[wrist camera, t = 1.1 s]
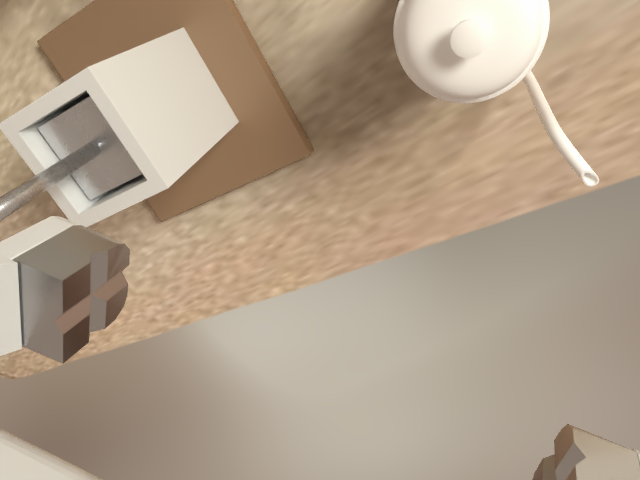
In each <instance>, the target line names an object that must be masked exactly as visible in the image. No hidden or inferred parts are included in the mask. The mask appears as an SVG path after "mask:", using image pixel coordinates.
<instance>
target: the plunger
mask: <svg viewBox="0 0 640 480" xmlns="http://www.w3.org/2000/svg"><path fill="white" fill-rule="evenodd" d="M38 129H39V131H40V132H41V134H42V135H43V136H44V138H45V139H46V140H47V142H48V143H49V145H50V146H51V147H52V149H53V150H54V151H55V153H56V154H57V156H58V157H59V158H60V161H58V162H56V163H55V164H53V165H51V166H50V167H48V168H47V169H45V170H43V171H42V172H40V173H39V174H37V175H35V176H34V177H32V178H30V179H29V180H27V181H26V182H24V183H22V184H21V185H19V186H17V187H16V188H14V189H13V190H11V191H9V192H8V193H6V194H4V195H3V196H1V197H0V221H1V220H3V219H4V218H6V217H7V216H9V215H10V214H12V213H13V212H15V211H16V210H18V209H19V208H21V207H22V206H24V205H25V204H27V203H28V202H30V201H31V200H33V199H34V198H36V197H37V196H39V195H40V194H42V193H43V192H45V191H46V190H48V189H49V188H51V187H52V186H54V185H55V184H57V183H58V182H60V181H61V180H63V179H64V178H66V177H67V176H69V175H70V174H71V175H72V176H73V177H74V179H75V180H76V182H77V183H78V184H79V186H80V187H81V188H82V190H83V191H84V193H85V194H86V195H87V197H88V198H89V199H90V200H92V199H94V198H96V197H98V196H100V195H102V194H103V193H105V192H107V191H109V190H111V189H113V188H115V187H117V186H119V185H121V184H123V183H125V182H127V181H129V180H131V179H133V178H135V177H137V176H139V175H141V174H143V173H142V172H141V170H140V169H139V167H138V166H137V164H136V163H135V161H134V160H133V159H132V157H131V156H130V154H129V153H128V151H127V150H126V148H125V147H124V145H123V144H122V142H121V141H120V139H119V138H118V136H117V135H116V133H115V132H114V130H113V129H112V128H111V126H110V125H109V123H108V122H107V120H106V119H105V117H104V116H103V114H102V113H101V111H100V110H99V108H98V107H97V105H96V104H95V102H94V101H93V99H92V98H91V97H88V98H86V99H85V100H83V101H81V102H80V103H78V104H76V105H75V106H73V107H72V108H70V109H68V110H67V111H65V112H63V113H62V114H60V115H58V116H57V117H55V118H53V119H52V120H50V121H49V122H47V123H45V124H44V125H42V126H40V127H39V128H38Z"/></svg>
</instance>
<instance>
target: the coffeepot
mask: <svg viewBox="0 0 640 480" xmlns="http://www.w3.org/2000/svg"><path fill="white" fill-rule="evenodd" d="M549 22H550V11H549V3H548V0H399V2H398V5H397V9H396V13H395V18H394V27H393V35H394V44H395V49H396V53H397V56H398V59H399V61H400V63H401V65H402V67H403V69H404V71H405V72H406V74H407V75H408V77H409V78H410V79H411V80H412V81H413V82H414V83H415V84H416V85H417V86H418V87H419V88H420V89H422V90H423V91H425V92H426V93H428V94H429V95H431V96H433V97H436V98H438V99H441V100H444V101H448V102H453V103H476V102H481V101H485V100H489V99H492V98H494V97H497V96H499V95H501V94H503V93H505V92H506V91H508V90H509V89H511V88H512V87H514V86H515V85H516V84H518V83H519V82H520V81H521V80H522V79H523V81H524V83H525V85H526V87H527V89H528V92H529V94H530V96H531V99H532V101H533V103H534V105H535V108H536V110H537V112H538V115H539V117H540V119H541V122H542V124H543V126H544V128H545V130H546V132H547V134H548V136H549V137H550V139H551V140H552V142H553V144H554V145H555V146H556V148H557V149H558V151H559V152H560V153H561V155H562V156H563V157H564V159H565V160H566V161H567V162H568V164H569V165H570V166H571V167H572V169H573V170H574V171H575V172H576V173H577V175H578V176H579V177H580V178H581V180H582V181H583V182H584V183H585V184H586V185H587V186H595V185H596V184H598V182H599V178H598V176H597V175H596V174H595V172H594V171H593V170H592V169H591V167H590V166H589V165H588V164H587V163H586V161H585V160H584V159H583V158H582V156H581V155H580V154H579V153H578V151H577V150H576V149H575V147H574V146H573V145H572V143H571V142H570V141H569V139H568V138H567V137H566V135H565V134H564V132H563V131H562V129H561V128H560V126H559V124H558V123H557V121H556V119H555V117H554V115H553V113H552V111H551V109H550V107H549V105H548V103H547V101H546V99H545V97H544V95H543V93H542V91H541V89H540V86H539V84H538V82H537V80H536V79H535V77H534V75H533V73H532V72H531V69H532V68H533V66H534V65H535V63H536V62H537V60H538V58H539V57H540V55H541V53H542V50H543V48H544V45H545V42H546V39H547V35H548V30H549Z"/></svg>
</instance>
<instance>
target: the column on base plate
mask: <svg viewBox="0 0 640 480" xmlns="http://www.w3.org/2000/svg"><path fill="white" fill-rule="evenodd" d="M37 42H38V44H39V45H40V47H41V48H42V50H43V51H44V53H45V54H46V55H47V57H48V58H49V60H50V61H51V63H52V64H53V66H54V67H55V69H56V70H57V71H58V73H59V74H60V76H61V77H62V79H63V80H64V82H63V83H62V84H60V85H59V86H57V87H56V88H54V89H53V90H51V91H49V92H48V93H46V94H45V95H43V96H42V97H40V98H38V99H37V100H35V101H34V102H32V103H31V104H29V105H28V106H26V107H24V108H23V109H21V110H20V111H18V112H17V113H15V114H13V115H12V116H10V117H9V118H7V119H6V120H4V121H3V122H1V123H0V129H1V131H2V132H3V133H4V135H5V136H6V137H7V139H8V140H9V141H10V142H11V144H12V145H13V146H14V148H15V149H16V150H17V152H18V153H19V154H20V156H21V157H22V158H23V160H24V161H25V162H26V164H27V165H28V166H29V168H30V169H31V170H32V172H33V173H34V174H35V175H37V174H39V173H40V172H42V171H43V170H45V169H47V168H48V167H50V166H51V165H53V164H55V163H56V162H58V161H60V158H59V157H58V156H57V154H56V153H55V151H54V150H53V149H52V147H51V146H50V145H49V143H48V142H47V140H46V139H45V138H44V136H43V135H42V134H41V132H40V131H39V129H38V128H39V127H40V126H42V125H44V124H45V123H47V122H49V121H50V120H52V119H53V118H55V117H57V116H58V115H60V114H62V113H63V112H65V111H67V110H68V109H70V108H72V107H73V106H75V105H76V104H78V103H80V102H81V101H83V100H85V99H86V98H88V97H91V98H92V99H93V101H94V102H95V104H96V105H97V107H98V108H99V110H100V111H101V113H102V114H103V116H104V117H105V119H106V120H107V122H108V123H109V125H110V126H111V128H112V129H113V130H114V132H115V133H116V135H117V136H118V138H119V139H120V141H121V142H122V144H123V145H124V147H125V148H126V150H127V151H128V153H129V154H130V156H131V157H132V159H133V160H134V161H135V163H136V164H137V166H138V167H139V169H140V170H141V172H142V173H143V174H141V175H139V176H137V177H135V178H133V179H131V180H129V181H127V182H125V183H123V184H121V185H119V186H117V187H115V188H113V189H111V190H109V191H107V192H105V193H103V194H102V195H100V196H98V197H96V198H94V199H92V200H90V199H89V198H88V197H87V195H86V194H85V193H84V191H83V190H82V188H81V187H80V186H79V184H78V183H77V182H76V180H75V179H74V177H73V176H72V175H71V174H70V175H69V176H67V177H66V178H64V179H63V180H61V181H60V182H58V183H57V184H55V185H54V186H52V187H51V188H49V189H48V190H47V191H48V193H49V194H50V195H51V197H52V198H53V199H54V201H55V202H56V203H57V205H58V206H59V207H60V209H61V210H62V211H63V213H64V214H65V215H66V217H67V218H68V219H69V220H70V221H72V222H75V223H77V224H79V225H82V226H85V227H88V226H90V225H92V224H94V223H96V222H99V221H101V220H103V219H105V218H107V217H109V216H111V215H113V214H115V213H117V212H120V211H122V210H124V209H126V208H128V207H130V206H132V205H134V204H136V203H138V202H141V201H143V200H145V199H146V201H147V202H148V204H149V205H150V207H151V208H152V209H153V211H154V212H155V214H156V215H157V217H158V218H159V220H160V221H161V222H162V221H164V220H166V219H169V218H171V217H173V216H175V215H178V214H180V213H182V212H184V211H186V210H189V209H191V208H193V207H195V206H198V205H200V204H202V203H204V202H207V201H209V200H211V199H213V198H215V197H218V196H220V195H222V194H224V193H227V192H229V191H231V190H233V189H236V188H238V187H240V186H242V185H244V184H247V183H249V182H251V181H253V180H256V179H258V178H260V177H262V176H265V175H267V174H269V173H271V172H273V171H276V170H278V169H280V168H282V167H285V166H287V165H289V164H291V163H294V162H296V161H298V160H300V159H303V158H305V157H307V156H309V155H311V153H312V152H313V150H314V149H313V147H312V145H311V143H310V141H309V140H308V138H307V136H306V134H305V132H304V130H303V129H302V127H301V125H300V123H299V121H298V119H297V118H296V116H295V114H294V112H293V110H292V108H291V107H290V105H289V103H288V101H287V99H286V97H285V96H284V94H283V92H282V90H281V88H280V86H279V85H278V83H277V81H276V79H275V77H274V75H273V74H272V72H271V70H270V68H269V66H268V64H267V63H266V61H265V59H264V57H263V55H262V53H261V52H260V50H259V48H258V46H257V44H256V42H255V41H254V39H253V37H252V35H251V33H250V31H249V30H248V28H247V26H246V24H245V22H244V20H243V18H242V17H241V15H240V13H239V11H238V9H237V7H236V6H235V4H234V2H233V0H95V1H94V2H92V3H91V4H89V5H88V6H86V7H85V8H84V9H82V10H81V11H79V12H78V13H76V14H75V15H74V16H72V17H71V18H69V19H68V20H66V21H65V22H64V23H62V24H61V25H59V26H58V27H57V28H55V29H54V30H52V31H51V32H49V33H48V34H47V35H45V36H44V37H42V38H41V39H39V40H38V41H37Z"/></svg>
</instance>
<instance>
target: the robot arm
mask: <svg viewBox="0 0 640 480" xmlns="http://www.w3.org/2000/svg"><path fill="white" fill-rule="evenodd" d="M129 255H130V250H129V248H128V247H127V246H126V245H125V244H124V243H122V242H119V241H117V240H115V239H112V238H110V237H108V236H105V235H103V234H101V233H98V232H96V231H94V230H92V229H89V228H87V227H85V226H82V225H79V224H77V223H75V222H72V221H70V220H67V219H65V218H63V217H60V216H50V217H48V218H46V219H44V220H42V221H41V222H39V223H37V224H35V225H33V226H31V227H29V228H27V229H25V230H23V231H21V232H19V233H17V234H15V235H13V236H11V237H9V238H7V239H5V240H3V241H1V242H0V356H2V355H5V354H8V353H11V352H14V351H17V350H20V349H22V346H23V347H25V348H28V349H30V350H32V351H35V352H37V353H39V354H42V355H44V356H47V357H49V358H51V359H54V360H56V361H58V362H61V363H64V362H66V361H67V360H68V359H69V358H70V357H72V356H73V355H74V354H75V353H76V352H78V351H79V350H80V349H81V348H82V347H84V346H85V345H86V344H87V343H88V342H89V335H90V332H93V331H97V330H101V329H105V328H106V327H107V326H109V325H110V324H111V323H112V322H113V321H114V320H115V319H116V318H117V316H118V315H119V313H120V311H121V310H122V308H123V307H124V304H125V301H126V297H127V292H128V283H127V281H126V279H125V277H124V275H123V273H122V271H123V270H124V269H125V268H126V267H127V266H128V265H129ZM554 445H555V446H554V447H555V455H552V456H549V457H546V458H543V459H542V461H541V463H540V464H539V466H538V468H537V470H536V471H535V473H534V477H533V480H640V451H637V450H634V449H629V448H626V447H624V446H621V445H619V444H617V443H614V442H612V441H609V440H607V439H604V438H602V437H599V436H596V435H594V434H592V433H589V432H587V431H584V430H581V429H579V428H576V427H574V426H572V425H569V424H567V425H566V426H565V427H564V428H562V429H561V431H560V432H559V434H558V435H557V437H556V438H555V440H554ZM0 480H102V479H100V478H98V477H96V476H94V475H92V474H90V473H88V472H86V471H84V470H82V469H80V468H78V467H76V466H74V465H72V464H70V463H68V462H66V461H64V460H62V459H60V458H58V457H56V456H54V455H52V454H50V453H48V452H46V451H44V450H42V449H40V448H38V447H36V446H34V445H32V444H30V443H28V442H26V441H24V440H22V439H20V438H18V437H16V436H14V435H12V434H10V433H8V432H6V431H4V430H2V429H0Z"/></svg>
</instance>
